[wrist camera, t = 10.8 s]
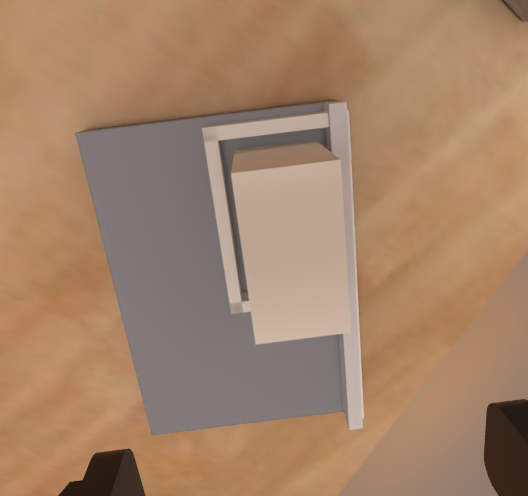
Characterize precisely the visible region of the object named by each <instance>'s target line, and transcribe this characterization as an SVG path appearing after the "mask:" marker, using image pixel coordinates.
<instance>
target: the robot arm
mask: <svg viewBox="0 0 528 496" xmlns="http://www.w3.org/2000/svg"><path fill="white" fill-rule="evenodd" d="M484 462H485V466H486V471H487V473H488V477H489V479H490V482H491V483H492V486H493V487H494V489H495V490H496V492H497V494H498V495H499V496H528V400H526V399H521V400H513V401H505V402H498V403H491V404H489V405H488V408H487V416H486V432H485V447H484ZM59 496H145V493H144V489H143V486H142V482H141V479H140V475H139V472H138V468H137V465H136V461H135V458H134V455H133V452H132V451H131V449H122V450H114V451H107V452H99V453H95V454H94V455H93V457H92V458H91V461H90V463H89V466H88V468H87V471H86V473H85V476H84V478H83V480H81V481H74V482H70V483H69V484H68V485H67V486H66V487H65V489H64V490H63V491H62V492H61V493H60V494H59Z"/></svg>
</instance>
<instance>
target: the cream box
mask: <svg viewBox="0 0 528 496" xmlns="http://www.w3.org/2000/svg"><path fill="white" fill-rule="evenodd" d="M231 178H232V185H233V192H234V199H235V206H236V213H237V220H238V226H239V233H240V240H241V247H242V254H243V261H244V268H245V275H246V282H247V289H248V296H249V303H250V310H251V317H252V324H253V331H254V338H255V345H257V344H265V343H273V342H281V341H289V340H297V339H305V338H313V337H320V336H328V335H336V334H344V333H351V325H350V308H349V291H348V274H347V257H346V240H345V223H344V206H343V189H342V172H341V159H339V158H338V157H337V156H335V155H334V154H333V153H332V152H330V151H329V150H328V149H326V148H325V147H324V146H322V145H321V144H320V143H319V142H317V141H316V140H315V139H313V140H305V141H297V142H290V143H282V144H274V145H266V146H258V147H250V148H242V149H234V154H233V162H232V169H231Z"/></svg>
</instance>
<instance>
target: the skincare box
mask: <svg viewBox="0 0 528 496" xmlns="http://www.w3.org/2000/svg"><path fill="white" fill-rule="evenodd" d="M504 1H505V2H506V3H507V4H508V5H509V6H510V7H511V9H512V10H513V11H514V12H515V13H516V14H517V15H518V16H519V17H520V18H521V19H522V20H523V21H528V0H504Z"/></svg>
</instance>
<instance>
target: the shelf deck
mask: <svg viewBox="0 0 528 496" xmlns="http://www.w3.org/2000/svg"><path fill="white" fill-rule="evenodd" d="M76 137H77V141H78V145H79V149H80V153H81V157H82V161H83V165H84V169H85V173H86V177H87V181H88V185H89V189H90V192H91V196H92V200H93V204H94V208H95V212H96V216H97V220H98V224H99V228H100V232H101V236H102V240H103V244H104V248H105V252H106V256H107V260H108V264H109V268H110V272H111V276H112V279H113V283H114V287H115V291H116V295H117V299H118V303H119V307H120V311H121V315H122V319H123V323H124V327H125V331H126V335H127V339H128V343H129V347H130V351H131V355H132V359H133V363H134V366H135V370H136V374H137V378H138V382H139V386H140V390H141V394H142V398H143V402H144V406H145V410H146V414H147V418H148V422H149V426H150V430H151V434H152V435H158V434H166V433H174V432H182V431H190V430H198V429H206V428H214V427H222V426H230V425H238V424H246V423H255V422H263V421H271V420H279V419H287V418H295V417H303V416H311V415H319V414H327V413H335V412H343V411H344V414H345V418H346V421H347V424H348V427H349V430H353V429H361V428H363V422H362V419H364V411H363V390H362V370H361V349H360V328H359V307H358V286H357V265H356V245H355V224H354V203H353V182H352V161H351V140H350V120H349V110H347V102H344V101H338V100H326V101H318V102H310V103H302V104H294V105H286V106H277V107H269V108H261V109H253V110H245V111H237V112H229V113H220V114H212V115H204V116H196V117H188V118H180V119H172V120H163V121H155V122H147V123H139V124H131V125H123V126H115V127H107V128H98V129H90V130H85V131H81V132H78V133H76ZM313 139H315V140H316V141H317V142H319V143H320V144H321V145H322V146H324V147H325V148H326V149H328V150H329V151H330V152H332V153H333V154H334V155H335V156H337V157H338V158H339V159H341V172H342V189H343V206H344V223H345V240H346V257H347V274H348V291H349V308H350V325H351V333H344V334H336V335H328V336H320V337H313V338H305V339H297V340H289V341H281V342H273V343H265V344H257V345H255V338H254V331H253V324H252V317H251V310H250V303H249V296H248V289H247V282H246V275H245V268H244V261H243V254H242V247H241V240H240V233H239V226H238V220H237V213H236V206H235V199H234V192H233V185H232V178H231V169H232V162H233V154H234V149H242V148H250V147H258V146H266V145H274V144H282V143H290V142H297V141H305V140H313Z"/></svg>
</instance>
